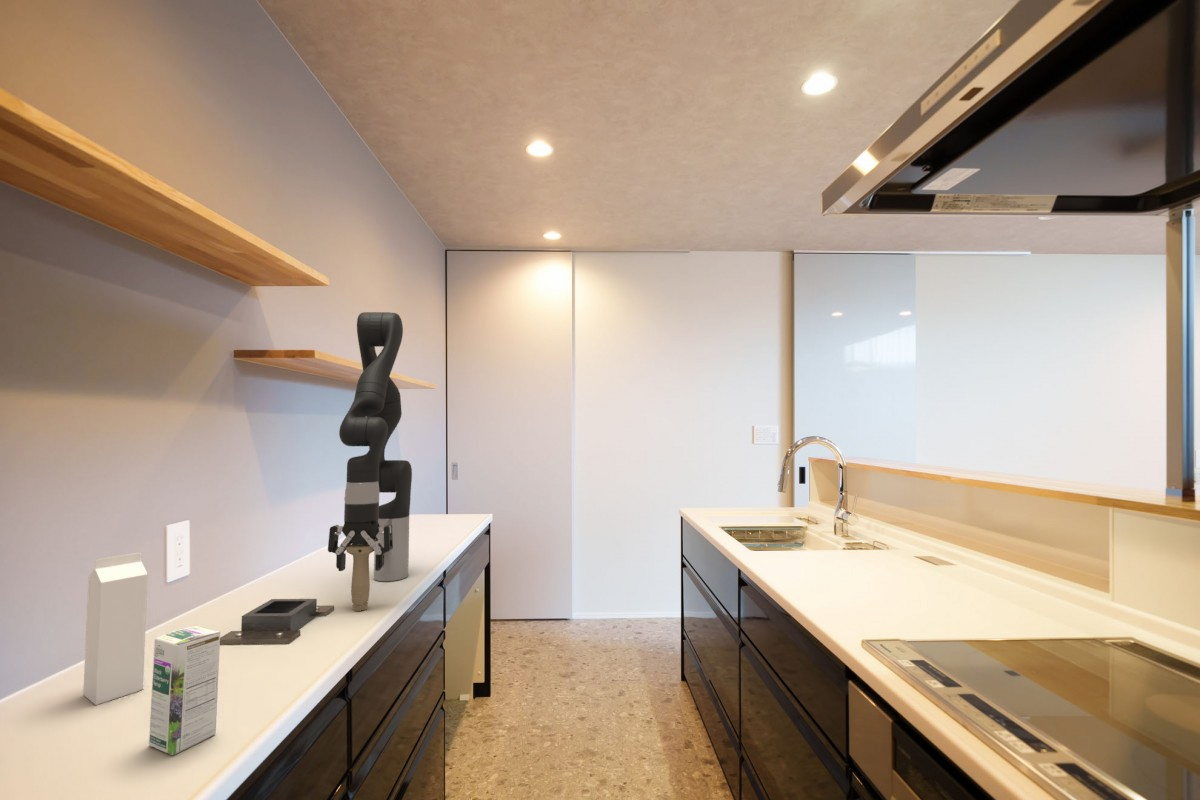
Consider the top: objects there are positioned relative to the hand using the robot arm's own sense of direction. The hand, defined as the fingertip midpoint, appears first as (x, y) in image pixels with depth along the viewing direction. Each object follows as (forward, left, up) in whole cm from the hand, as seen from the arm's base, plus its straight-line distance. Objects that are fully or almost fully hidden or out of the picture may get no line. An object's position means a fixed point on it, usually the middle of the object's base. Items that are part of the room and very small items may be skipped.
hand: (360, 570), depth 128 cm
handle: (0, 0, -9) cm, 9 cm away
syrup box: (+53, -3, -10) cm, 54 cm away
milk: (+39, -24, -10) cm, 46 cm away
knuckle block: (+10, -13, -9) cm, 19 cm away
